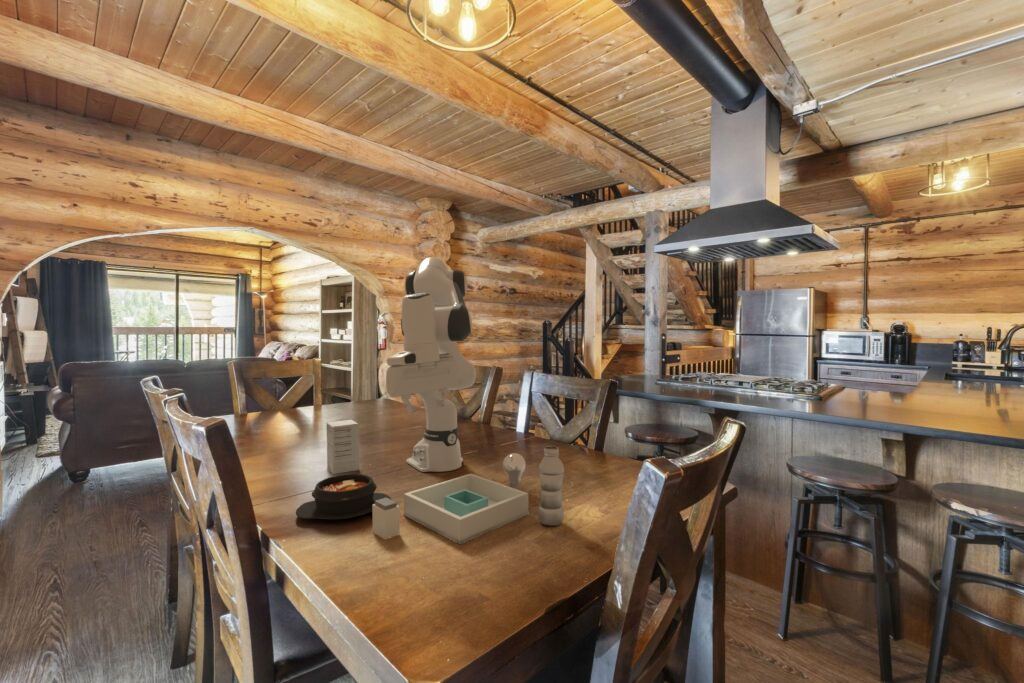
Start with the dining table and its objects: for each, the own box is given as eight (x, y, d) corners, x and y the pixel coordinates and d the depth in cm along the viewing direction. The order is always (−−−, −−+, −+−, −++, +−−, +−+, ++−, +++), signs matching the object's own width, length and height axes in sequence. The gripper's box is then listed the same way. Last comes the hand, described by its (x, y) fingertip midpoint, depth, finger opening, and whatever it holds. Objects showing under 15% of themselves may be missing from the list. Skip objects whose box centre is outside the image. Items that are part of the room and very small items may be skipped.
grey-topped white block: (372, 532, 116) (372, 500, 115) (386, 527, 118) (386, 496, 118) (385, 539, 111) (384, 507, 111) (399, 534, 114) (399, 502, 114)
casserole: (292, 533, 115) (291, 500, 115) (298, 505, 132) (298, 477, 132) (394, 518, 124) (394, 487, 123) (388, 494, 141) (388, 467, 141)
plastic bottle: (536, 518, 123) (536, 445, 122) (561, 518, 124) (561, 444, 123) (539, 529, 117) (540, 451, 116) (566, 528, 117) (566, 450, 117)
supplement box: (359, 470, 165) (359, 423, 164) (333, 474, 160) (332, 426, 159) (352, 463, 173) (351, 419, 172) (326, 467, 167) (325, 421, 167)
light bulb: (523, 496, 139) (523, 457, 139) (500, 494, 141) (500, 455, 140) (527, 488, 146) (527, 451, 146) (505, 486, 148) (505, 449, 147)
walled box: (404, 515, 125) (403, 493, 125) (471, 492, 143) (471, 473, 142) (459, 544, 109) (459, 519, 108) (528, 514, 126) (528, 493, 126)
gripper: (446, 353, 128) (450, 402, 128) (380, 359, 113) (385, 415, 113) (460, 352, 124) (465, 403, 124) (395, 358, 109) (399, 416, 109)
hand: (426, 409), depth 118 cm, fingers open, 8 cm apart
